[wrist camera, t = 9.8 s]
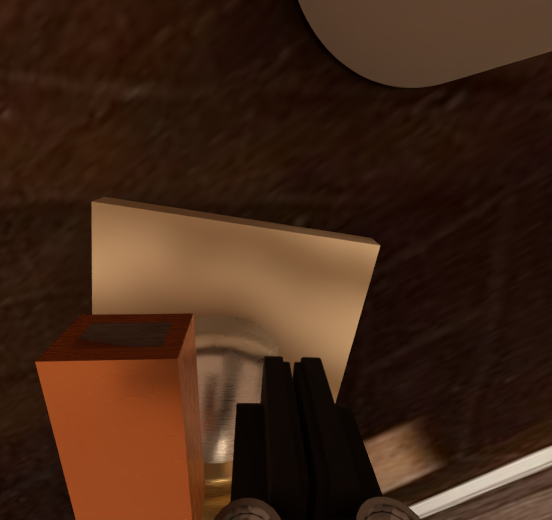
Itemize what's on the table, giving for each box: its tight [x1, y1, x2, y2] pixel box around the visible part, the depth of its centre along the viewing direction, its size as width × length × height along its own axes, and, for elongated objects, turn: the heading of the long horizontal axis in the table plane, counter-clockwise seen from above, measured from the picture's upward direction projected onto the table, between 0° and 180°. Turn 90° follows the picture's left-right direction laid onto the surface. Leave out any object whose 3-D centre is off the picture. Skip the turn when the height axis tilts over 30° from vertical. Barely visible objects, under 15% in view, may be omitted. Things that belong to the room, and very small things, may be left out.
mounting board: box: [92, 197, 380, 402], centre depth 23 cm, size 30×15×2 cm, turn 171°
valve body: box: [194, 315, 278, 520], centre depth 18 cm, size 20×8×10 cm, turn 171°
